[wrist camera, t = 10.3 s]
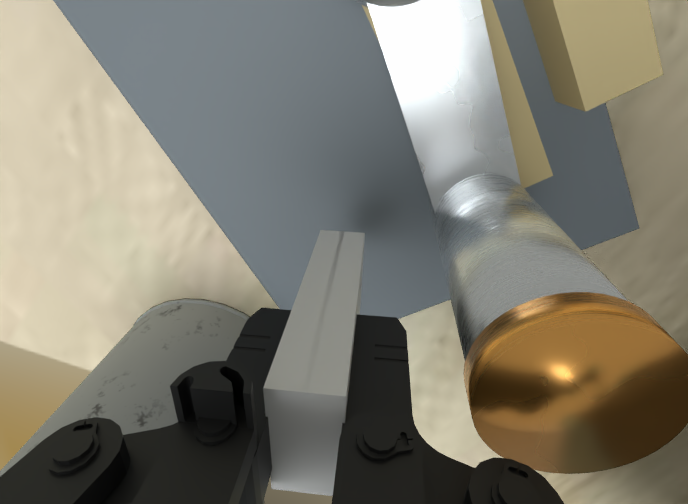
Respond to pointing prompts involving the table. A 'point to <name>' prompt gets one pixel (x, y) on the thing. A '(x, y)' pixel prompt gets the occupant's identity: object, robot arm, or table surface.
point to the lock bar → (522, 269)
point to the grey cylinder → (147, 368)
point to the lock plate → (364, 124)
